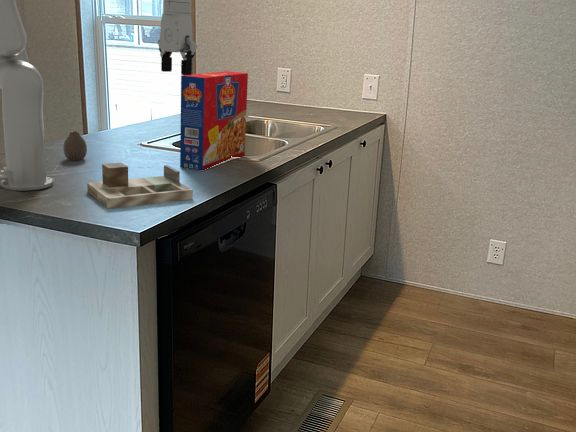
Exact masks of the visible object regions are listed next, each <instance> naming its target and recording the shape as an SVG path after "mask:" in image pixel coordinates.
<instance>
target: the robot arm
mask: <svg viewBox="0 0 576 432" xmlns="http://www.w3.org/2000/svg"><path fill="white" fill-rule="evenodd" d="M162 12H163V13H162V14H161V18H160V25H159V26H160V27H159V38H158V40H157V44H158V51H159V54H160V55H159V56H160V58H161V59H160V60H161V63H160V65H161V66H160V67H161V68H160V69H161V72H169V73H170V72H172V70H173V68H172V67H173V62H172V61H173V57H172V54H173V53H179V54H180V55H181V58H182V59H181V60H180V63H181V64H180V67H181V68H180V75H192V74H193V61H194V57H195V55H196V50H197V49H198V45H197V43H196V42H195V41H194V40H193V39H194V38H193V37H194V35H193V22H192V0H163V1H162ZM27 43H28V36H27V32H26V29H25V27H24V25H23V21H22V17H21V15H20V12H19V8H18V6H17V1H16V0H0V90H1V96H2V97H1V100H2V101H1V108H2V109H1V110H2V111H1V112H2V126H3V137H4V139H3V140H4V150H5V152H4V153H5V165H6V166H3V169H2V170H0V186H1V187H2V188H3V189H6V190H11V191H20V192H21V191H22V192H23V191H24V192H26V191H38V190H43V189H44V190H45V189H47V188H51V187H52V186H53V184H54V181H53V178H52V177H49V176H47V163H46V162H47V160H46V145H45V144H46V142H45V140H46V139H45V125H44V93H45V92H44V89H45V88H44V80H43V78H42V75H41V73H40V71H39V70H38V68H36V67H35V65H33V64H31V63H30V60H29V57H28V52H27V50H26V46H27Z"/></svg>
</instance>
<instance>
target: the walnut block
mask: <svg viewBox="0 0 576 432" xmlns="http://www.w3.org/2000/svg"><path fill="white" fill-rule="evenodd" d="M101 169H102V181H103V183H104V184H105V185H106V186H108V187H109V188H110V187H120V186H128V179H129V166H128V165H126V164H124V163H123V162H110V163H108V162H107V163H102V164H101Z"/></svg>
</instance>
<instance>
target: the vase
mask: <svg viewBox="0 0 576 432" xmlns="http://www.w3.org/2000/svg"><path fill="white" fill-rule="evenodd" d="M87 145H88V144H87V142H86V141H85V139H84V138H83V137H82V135H81V134H80V132H79V131H77V130H72V131H70V133H69V134H68V136H67V137H66V138H65V140H64V143H63V145H62V146H63V147H62V148H63V154H64V156H65V157H66V159H67V160H69V161H72V162H80V161H82V160H84V159H85V158H86V155H87V154H88V153H87V151H88V150H87V149H88V147H87Z"/></svg>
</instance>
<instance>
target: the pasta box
mask: <svg viewBox="0 0 576 432" xmlns="http://www.w3.org/2000/svg"><path fill="white" fill-rule="evenodd" d="M248 80H249V73H248V72H241V71H240V72H239V71H228V70H224V71H215V72H203V73H192V75H182V74H180V140H179V142H180V146H179V147H180V150H179V153H180V158H179V160H180V161H179V162H180V163H179V164H180V165H179V167H182V168H181V169H186V168H188V170H192V169H196V170H195V171H198V170H205V169H207V168H210V167H212V166H214V165H216V164H219V163H221V162H223V161H226V160H228V159H230V158H231V156H232V157H241V158H243V157H245V156H246V154H245V153H246V135H247V134H246V132H247V131H246V130H247V129H246V128H247V108H248V107H247V105H248ZM210 169H211V168H210ZM207 170H208V169H207ZM205 171H206V170H205Z"/></svg>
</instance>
